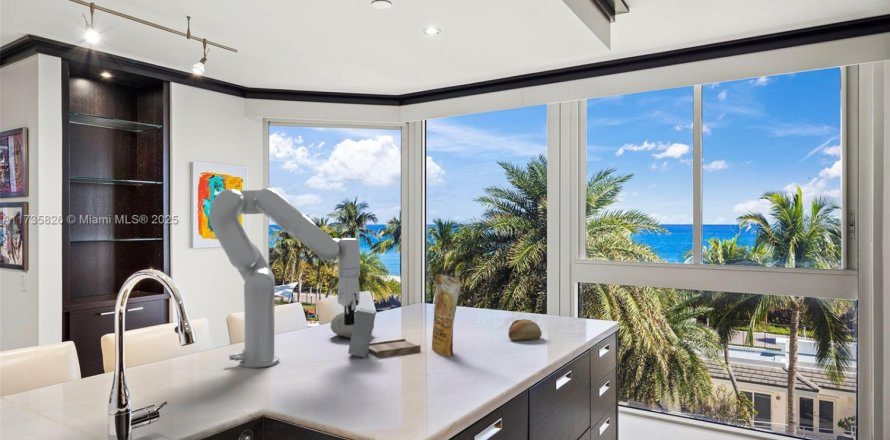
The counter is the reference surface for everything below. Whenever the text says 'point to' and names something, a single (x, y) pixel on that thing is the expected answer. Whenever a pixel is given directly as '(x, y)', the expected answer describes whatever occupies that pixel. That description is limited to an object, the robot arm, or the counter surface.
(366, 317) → the skincare box
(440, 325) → the pancake mix bag
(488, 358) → the counter surface
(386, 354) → the light brown wooden tray
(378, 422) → the counter surface
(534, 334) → the bread roll
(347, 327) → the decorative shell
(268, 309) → the robot arm
